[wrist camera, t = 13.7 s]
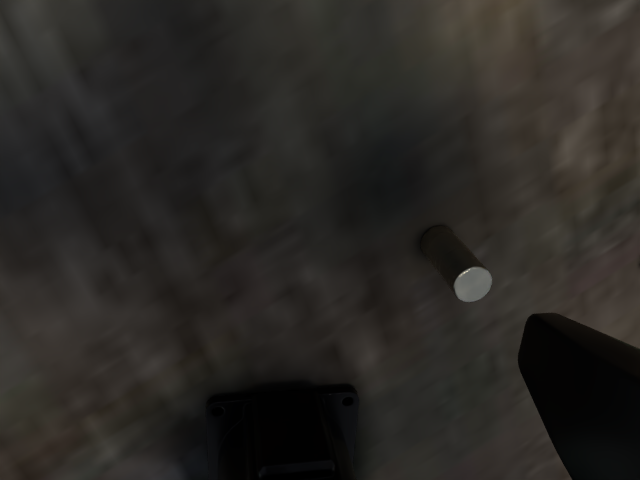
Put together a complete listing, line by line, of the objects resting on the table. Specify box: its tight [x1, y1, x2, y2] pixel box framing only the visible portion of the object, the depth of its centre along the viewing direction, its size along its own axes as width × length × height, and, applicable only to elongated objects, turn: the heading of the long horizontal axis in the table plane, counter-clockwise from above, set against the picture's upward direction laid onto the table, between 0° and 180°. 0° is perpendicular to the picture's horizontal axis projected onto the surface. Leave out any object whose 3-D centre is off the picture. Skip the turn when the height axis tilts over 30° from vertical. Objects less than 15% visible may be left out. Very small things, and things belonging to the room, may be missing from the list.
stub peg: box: [421, 226, 492, 302], centre depth 21 cm, size 1×1×4 cm
